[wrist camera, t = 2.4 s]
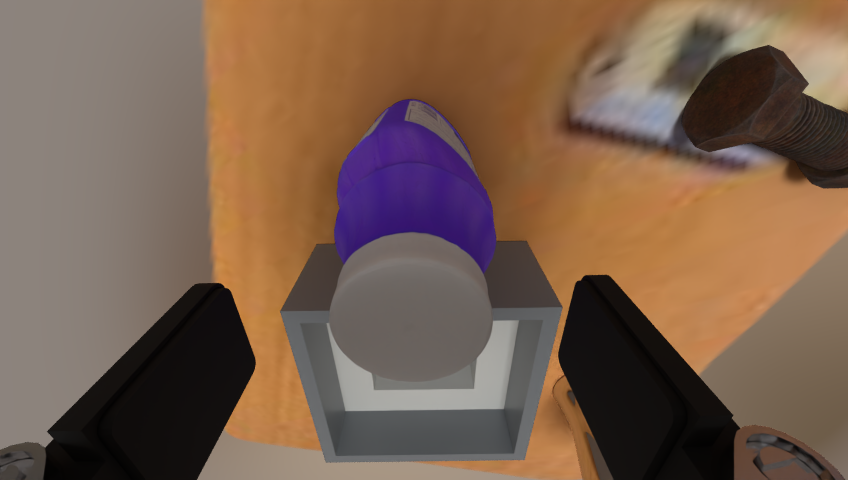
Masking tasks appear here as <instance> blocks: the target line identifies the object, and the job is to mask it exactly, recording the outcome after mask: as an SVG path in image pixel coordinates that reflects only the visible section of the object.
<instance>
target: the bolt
mask: <svg viewBox="0 0 848 480" xmlns="http://www.w3.org/2000/svg"><path fill="white" fill-rule="evenodd" d="M808 84H809V83H808V82H807V81H806V79H805V78H804V77H803V76H802V74H801V73H800V72H799V70H798V69H797V68H796V67H795V65H794V64H793V63H792V62H791V60H790V59H789V58H788V57H787V55H786V54H785V53H784V52H783V51H781V50H778V49H776V48H774V47H772V46H770V45H767V46H763V47H759V48H755V49H752V50H749V51H746V52H743V53H740V54H738V55H736V56H734V57H732V58H730V59H728V60H726V61H725V62H723V63H722V64H720V65H719V66H718V67H717V68H716V69H714V70H713V71H712V72H711V73H710V74H709V75H708V76H707V77H705V78H704V80H703V81H702V82H701V83H700V84H699V85H698V87H697V88H696V90H695V91H694V93H693V94H692V95H691V97H690V99H689V100H688V102H687V105H686V107H685V110H684V113H683V116H682V126H683V129H684V131H685V133H686V135H687V137H688V138H689V140H690V141H691V142H692V143H693V145H694V146H695V147H697V148H699V149H702V150H704V151H707V152H712V151H716V150H721V149H725V148H729V147H733V146H738V145H742V144H746V143H753V144H755V145H757V146H760V147H762V148H766V149H768V150H770V151H773V152H775V153H778V154H780V155H782V156H786V157H788V158H790V159H793V160H795V161H796V163H797V165H798V167H799V169H800V170H801V171H802V173H803V174H804V175H805V177H806V178H807V179H808V180H809V181H810V182H811V183H812V184H814V185H816V186H819V187H821V188H848V113H846V112H843V111H841V110H838V109H836V108H834V107H832V106H830V105H827V104H824V103H822V102H820V101H818V100H816V99H814V98H813V97H811V96H808V95H806V94H804V93H802V92H803V91H804V89H805V88H806V87H807V86H808Z"/></svg>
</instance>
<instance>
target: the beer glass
mask: <svg viewBox="0 0 848 480" xmlns="http://www.w3.org/2000/svg"><path fill="white" fill-rule="evenodd" d="M553 394H554V397H555V399H556V401H557V403H558V404H559V406H560V408H561V409H562V411H563V413H564V414H565V416H566V418H567V420H568V423H569V425H570V428H571V431H572V434H573V438H574V443H575V447H576V452H577V457H578V461H579V466H580V470H581V475H582V479H583V480H613V478H612V475H611V473H610V471H609V469H608V467H607V465H606V463H605V460H604V458H603V456H602V454H601V452H600V450H599V447H598V445H597V443H596V441H595V439H594V437H593V435H592V432H591V430H590V428H589V426H588V424H587V422H586V420H585V417H584V415H583V413H582V411H581V409H580V407H579V404H578V402H577V400H576V398H575V396H574V394H573V392H572V389H571V387H570V385H569V383H568V381H567V379H566V376H563V377H562V378H561V379H559V380H558V382H557V383H556V384H555V386H554V389H553Z"/></svg>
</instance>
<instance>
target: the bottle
mask: <svg viewBox="0 0 848 480" xmlns="http://www.w3.org/2000/svg"><path fill="white" fill-rule="evenodd" d="M337 198H338V203H339V207H340V209H339V211H338V214H337V219H336V224H335V229H334V237H335V244H336V249H337V252H338V255H339V256H340V258H341V260H342V262H343V264H344V266H343V268H342V270H341V273H340V275H339V278H338V283H337V288H336V290H335V293H334V296H333V299H332V302H331V306H330V315H329V325H330V329H331V332H332V336H333V338H334V340H335V342H336V344H337V345H338V347H339V348H340V349H341V351H342V352H343V353H344V354H345V355H346V356H347V357H348V358H349V359H350V360H351V361H352V362H354V363H355V364H356V365H358V366H359V367H361V368H362V369H364V370H366V371H368V372H370V373H373V374H375V375H377V376H380V377H382V378H386V379H390V380H395V381H404V382H424V381H431V380H436V379H440V378H443V377H446V376H450V375H452V374H454V373H456V372H458V371H460V370H461V369H463V368H465V367H466V366H468V365H469V364H471V363H472V362H473V361H474V360H475V359H476V358H478V356H479V355H480V354H481V353H482V351H483V350H484V349H485V347H486V345H487V343H488V341H489V339H490V335H491V332H492V326H493V313H492V307H491V303H490V300H489V296H488V287H487V283H486V280H485V277H484V273H485V271H486V269H487V268H488V266H489V263H490V262H491V260H492V258H493V255H494V251H495V247H496V234H495V228H494V222H493V210H492V205H491V202H490V199H489V197H488V194H487V192H486V190H485V189H484V187H483V186H482V184H481V182H480V180H479V177H478V175H477V173H476V170H475V168H474V165H473V163H472V159H471V156H470V153H469V151H468V149H467V147H466V145H465V143H464V141H463V140H462V138H461V137H460V135H459V134H458V132H457V131H456V130H455V129H454V127H453V126H452V125H451V124H450V123H449V122H448V121H447V120H446V118H445V117H444V116H443V115H442V114H440V113H439V112H438V111H437V110H436V109H434V108H433V107H432V106H430V105H429V104H427V103H425V102H422V101H420V100H415V99H408V100H402V101H399V102H397V103H395V104H394V105H393V106H392V107H389V108H387V109H386V110H385V111H384V112H383V113H382V114H381V115H380V116H379V117H378V118H377V119H376V120H375V122H374V124H373V125H372V126H371V127H370V128H369V129H368V131H367V132H366V133H365V134H364V136H363V137H362V138H361V140H360V141H359V142H358V144H357V145H356V146H355V148H354V149H353V150H352V151H351V152H350V153H349V155H348V156H347V158H346V159H345V160H344V162H343V164H342V167H341V171H340V173H339V178H338V188H337Z"/></svg>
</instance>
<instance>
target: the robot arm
mask: <svg viewBox="0 0 848 480" xmlns="http://www.w3.org/2000/svg"><path fill="white" fill-rule="evenodd" d="M558 358H559V363H560V366H561V368H562V370H563V372H564V374H565V376H566V379H567V381H568V383H569V385H570V387H571V389H572V392H573V394H574V396H575V398H576V400H577V402H578V404H579V407H580V409H581V411H582V413H583V415H584V417H585V420H586V422H587V424H588V426H589V428H590V430H591V432H592V435H593V437H594V439H595V441H596V443H597V445H598V447H599V450H600V452H601V454H602V456H603V458H604V460H605V463H606V465H607V467H608V469H609V471H610V473H611V475H612V478H613V480H845V479H844V477H843V476H842V475H841V474H840V472H839V471H838V470H837V469H836V468H835V467H834V466H833V465H832V464H831V463H830V462H828V461H827V460H826V459H825V458H824V457H823V456H822V455H821V454H819V453H818V452H816V451H815V450H813V449H812V448H811V447H809V446H808V445H806V444H805V443H803V442H801V441H799V440H798V439H796V438H794V437H792V436H790V435H788V434H786V433H784V432H781V431H778V430H775V429H772V428H770V427H764V426H758V425H751V426H744V427H742V428H741V429H740V427H739V426H738V425H737V424H736V423H735V422H734V421H733V419H732V417H733V414H732V413H731V412H730V411H729V410H728V409H727V408H726V406H725V405H724V404H723V403H722V402H721V401H720V400H719V399H718V397H717V396H716V395H715V394H714V393H713V392H712V391H711V390H710V389H709V387H708V386H707V385H706V384H705V383H704V382H703V381H702V379H701V378H700V377H699V376H698V375H697V374H696V373H695V372H694V370H693V369H692V368H691V367H690V366H689V365H688V364H687V363H686V361H685V360H684V359H683V358H682V357H681V356H680V355H679V353H678V352H677V351H676V350H675V349H674V348H673V347H672V346H671V344H670V343H669V342H668V341H667V340H666V339H665V338H664V337H663V335H662V334H661V333H660V332H659V331H658V330H657V329H656V328H655V326H654V325H653V324H652V323H651V322H650V321H649V320H648V319H647V317H646V316H645V315H644V314H643V313H642V312H641V311H640V309H639V308H638V307H637V306H636V305H635V304H634V303H633V302H632V300H631V299H630V298H629V297H628V296H627V295H626V294H625V293H624V291H623V290H622V289H621V288H620V287H619V286H618V285H617V284H616V282H615V281H614V280H613V279H612V278H611V277H610V276H609V275H586V276H584V277H583V278H582V280H581V281H577V282H576V284H575V287H574V291H573V295H572V299H571V303H570V307H569V311H568V315H567V319H566V323H565V327H564V331H563V336H562V340H561V344H560V348H559V352H558ZM255 365H256V360H255V356H254V354H253V351H252V348H251V345H250V343H249V340H248V337H247V334H246V332H245V329H244V326H243V324H242V321H241V318H240V315H239V313H238V310H237V307H236V304H235V302H234V299H233V296H232V293H231V291H230V290H229V289H227V288H225V287H224V286H223V285H222V284H220V283H199V284H195V285H194V286H192V287H191V288H190V289H189V290H188V291H187V292H186V293H185V294H184V295H183V296H182V297H181V298H180V299H179V300H178V301H177V302H176V303H175V304H174V305H173V306H172V307H171V308H170V309H169V310H168V311H167V312H166V313H165V314H164V315H163V316H162V317H161V318H160V319H159V320H158V321H157V322H156V323H155V324H154V325H153V326H152V327H151V328H150V329H149V330H148V331H147V332H146V333H145V334H144V335H143V336H142V337H141V338H140V339H139V340H138V341H137V342H136V343H135V344H134V345H133V346H132V347H131V348H130V349H129V350H128V351H127V352H126V353H125V354H124V355H123V356H122V357H121V358H120V359H119V360H118V361H117V362H116V363H115V364H114V365H113V366H112V367H111V368H110V369H109V370H108V371H107V372H106V373H105V374H104V375H103V376H102V377H101V378H100V379H99V380H98V381H97V382H96V383H95V384H94V385H93V386H92V387H91V388H90V389H89V390H88V391H87V392H86V393H85V394H84V395H83V396H82V397H81V398H80V399H79V400H78V401H77V402H76V403H75V404H74V405H73V406H72V407H71V408H70V409H69V410H68V411H67V412H66V413H65V414H64V415H63V416H62V417H61V418H60V419H59V420H58V421H57V422H56V423H55V424H54V425H53V426H52V427H51V428H50V429H49V430H48V431H47V432H48V433H49V434H50V435H51V436H52V437H53V440H52V441H51V442H50V443H49V444H48V445H47V446H46V448H45V447H43V446H41V445H40V444H39V443H31V442H25V443H21V444H16V445H12V446H9V447H6V448H4V449H1V450H0V480H197V478H198V476H199V474H200V473H201V471H202V469H203V467H204V465H205V463H206V461H207V459H208V457H209V456H210V454H211V452H212V450H213V448H214V446H215V444H216V442H217V441H218V439H219V437H220V435H221V433H222V431H223V429H224V427H225V425H226V424H227V422H228V420H229V418H230V416H231V414H232V412H233V410H234V408H235V407H236V405H237V403H238V401H239V399H240V397H241V395H242V393H243V391H244V389H245V388H246V386H247V384H248V382H249V380H250V378H251V376H252V374H253V372H254V370H255Z"/></svg>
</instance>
